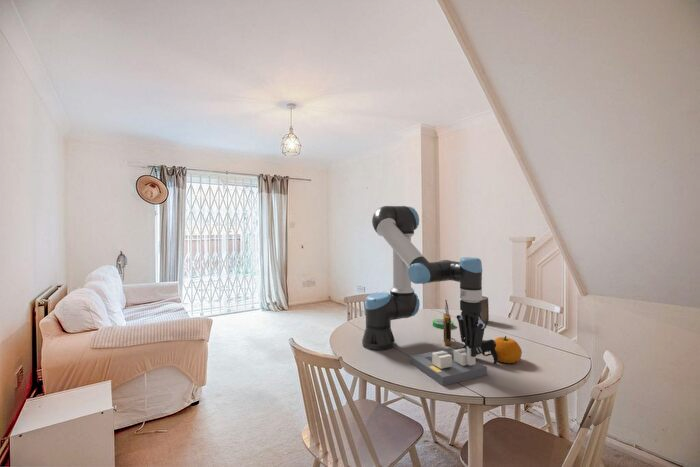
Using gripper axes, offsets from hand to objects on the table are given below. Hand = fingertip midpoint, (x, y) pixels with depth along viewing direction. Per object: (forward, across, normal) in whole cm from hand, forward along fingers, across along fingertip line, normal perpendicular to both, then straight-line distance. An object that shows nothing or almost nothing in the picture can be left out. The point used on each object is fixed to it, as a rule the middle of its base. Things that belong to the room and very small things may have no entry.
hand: (471, 364), depth 118 cm
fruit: (+5, -5, +22) cm, 23 cm away
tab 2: (+1, -4, 0) cm, 4 cm away
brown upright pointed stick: (+5, -28, +16) cm, 33 cm away
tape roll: (+5, -52, +28) cm, 59 cm away
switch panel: (+4, -8, -4) cm, 10 cm away
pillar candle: (+5, -50, +52) cm, 73 cm away
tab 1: (+1, -5, -9) cm, 10 cm away
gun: (+5, -10, +12) cm, 17 cm away
